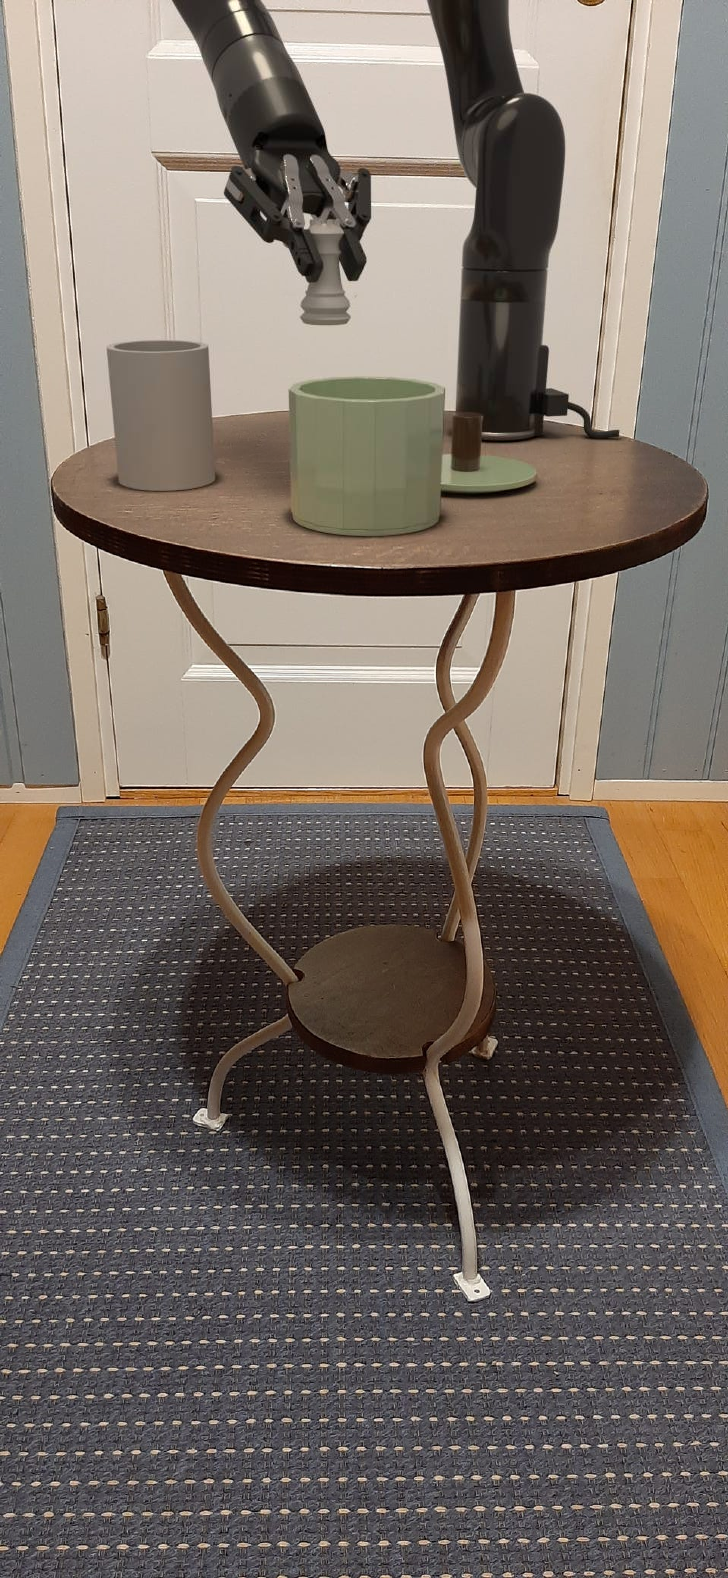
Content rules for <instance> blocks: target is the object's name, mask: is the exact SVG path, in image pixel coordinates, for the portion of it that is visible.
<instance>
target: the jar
mask: <svg viewBox="0 0 728 1578" xmlns="http://www.w3.org/2000/svg"><path fill="white" fill-rule="evenodd" d="M445 403H446V387H444V386H442V385H440V384H437V383H435V382H431V381H425V380H419V379H414V378H404V377H392V376H362V375H361V376H359V375H358V376H333V377H324V378H316V379H314V378H313V379H307V380H304V381H300V382H296V383H293V384H291V386H290V387H289V388H288V425H289V427H288V428H289V429H288V430H289V464H290V465H289V466H290V467H289V471H290V472H289V474H290V475H289V476H290V478H289V479H290V511H291V513H292V520H294V522H295V523H296V524H297V525H299V526H301V527H304V528H307V529H309V530H312V531H315V532H320V533H325V534H331V535H332V534H333V535H340V536H351V537H384V536H385V537H387V536H396V535H405V534H410V533H416V532H419V531H423V530H426V529H429V528H431V527H433V526H434V525H436V524H437V523H439V521H440V519H441V506H442V491H441V484H442V458H443V454H444V433H445V432H444V430H445V429H444V428H445V407H446V406H445Z"/></svg>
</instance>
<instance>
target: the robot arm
mask: <svg viewBox="0 0 728 1578" xmlns="http://www.w3.org/2000/svg"><path fill="white" fill-rule="evenodd" d="M171 2H172V4H173V5H174V7H175V9H176V10H177V12H178V14H179V15H180V18H181V19H182V21H183V22H184V23H185V25H186V26H187V28H188V30H189V31H190V33H191V35H192V38H193V39H194V40H195V44H196V46H197V47H198V49H199V53H200V56H201V58H202V61H203V62H202V63H203V64H204V66H205V69H206V71H207V74H208V76H209V78H210V81H211V83H212V86H213V89H214V91H215V94H216V99H217V103H218V106H219V110H220V112H221V115H222V117H223V120H224V123H225V125H226V127H227V129H228V132H229V135H230V137H231V139H232V142H233V144H234V146H235V149H236V151H237V154H238V156H239V159H240V161H241V163H242V166H243V167H241V166H240V165H233V166H231V169H230V171H229V175H228V178H227V181H226V184H225V187H224V190H223V195H224V197H225V198H226V200H227V201H228V202H229V203H230V204H231V205H232V206H233V208H234V209H235V210H236V211H237V212H238V213H239V214H240V215H241V216H242V218H243V219H244V220H245V221H246V222H247V224H248V225H249V226H250V227H251V228H252V229H253V230H254V232H255V233H256V234H257V235H258V236H259V238H261V240H262V241H263V242H265V243H267V244H272V243H274V242H275V241H278V242H281V243H282V245H283V246H284V247H285V248H287V249H288V251H289V252H290V253H289V254H290V255H291V257H292V260H293V262H294V265H295V267H296V271H297V272H298V273H299V274H300V275H301V277H304V278H305V280H306V282H307V284H309V283H313V282H317V281H318V279H319V277H320V275H321V273H322V270H323V261H322V259H321V256H320V254H319V251H318V249H317V247H316V244H315V242H314V240H313V237H312V235H311V232H310V230H309V229H308V228H305V226H306V220H305V216H304V215H305V214H308V215H310V216H311V218H312V219H316V220H317V219H323V224H326V220H328V219H334V220H340V227H341V229H342V230H343V232H344V234H343V236H342V237H341V239H340V241H339V249H340V251H341V252H342V253H341V254H340V256H339V264H340V266H341V268H342V270H343V273H344V275H345V277H346V279H347V281H348V282H358V281H359V279H360V277H361V276H362V274H363V271H364V269H365V267H366V264H367V255H366V253H365V251H364V249H363V245H362V243H361V240H362V238H363V237H364V236H363V235H364V233H365V231H366V229H367V226H368V225H369V223H370V222H371V220H372V174H371V172H370V171H369V170H368V169H367V168H365V167H360V168H358V170H357V172H356V173H352V172H350V171H348V170H344V169H341V166H340V163H339V162H338V161H337V159H335V157H333V155H332V154H331V153H330V152H329V149H328V143H327V136H326V131H325V129H324V126H323V124H322V121H321V120H320V116H319V115H318V112H317V110H316V108H315V106H314V104H313V100H312V98H311V96H310V94H309V92H308V89H307V87H306V85H305V82H304V80H303V78H302V76H301V73H300V71H299V69H298V67H297V65H296V64H295V62H294V60H293V59H292V57H291V55H290V54H289V53H288V50H287V48H286V46H285V43H284V41H283V39H282V37H281V35H280V32H279V31H278V28H277V26H276V23H275V21H274V20H273V17H272V15H271V13H270V12H269V10H268V8H267V7H266V5H265V4H264V3H263V1H262V0H171ZM426 3H427V7H428V11H429V15H430V18H431V22H432V25H433V28H434V32H435V35H436V39H437V42H438V45H439V46H438V47H439V49H440V52H441V57H442V61H443V66H444V73H445V76H446V82H447V87H448V88H447V89H448V95H449V102H450V108H451V116H452V123H453V131H454V136H455V144H456V149H457V156H458V160H459V164H460V166H461V169H462V171H463V173H464V175H465V177H466V178H467V180H468V181H469V182H470V184H471V185H472V186H473V187H474V188H475V197H474V200H475V201H474V212H473V219H472V223H471V227H470V230H469V232H468V234H467V236H466V237H465V239H464V241H463V244H462V251H461V275H460V297H459V298H460V301H459V321H458V324H459V325H458V342H457V343H458V345H457V366H456V367H457V368H456V386H455V388H456V389H455V392H456V393H455V410H454V413H458V412H475V413H480V414H482V415H483V422H482V441H498V442H499V441H518V440H526V439H531V438H533V437H541V436H543V433H544V421H545V417H550V418H551V417H565V416H568V410H569V411H572V412H574V413H577V414H578V415H579V416H580V417H581V418H582V420H583V430H584V433H585V435H586V436H588V437H589V438H592V439H593V440H594V439H595V440H605V439H611V438H619V437H620V429H612V430H605V431H604V430H603V431H596V430H594V429H592V426H591V425H592V424H591V423H592V422H591V420H592V419H591V416H590V413H589V412H588V411H587V410H586V408H584V407H582V406H580V405H579V404H576V403H574V402H572V401H571V402H570V401H569V399H570V394H569V393H566V392H564V391H560V390H558V389H555V388H552V387H550V388H547V381H548V371H549V370H548V369H549V358H550V348H549V346H548V345H546V344H543V338H544V325H545V311H546V299H547V298H546V297H547V284H548V273H549V272H548V271H549V270H548V268H549V262H550V261H549V260H550V253H551V250H552V248H553V245H554V243H555V240H556V237H557V234H558V228H559V221H560V213H561V212H560V211H561V204H562V195H563V185H564V176H565V165H566V135H565V129H564V124H563V120H562V119H561V116H560V115H559V113H558V111H557V109H556V108H555V106H554V105H553V104H552V103H551V102H550V101H549V100H548V99H546V98H545V97H542V96H541V95H537V94H535V93H530V92H525V91H524V87H523V83H522V80H521V77H520V73H519V68H518V65H517V61H516V57H515V54H514V49H513V43H512V42H513V41H512V37H511V29H510V15H509V13H510V10H509V9H510V0H426ZM346 203H347V205H346ZM263 216H264V217H263ZM264 218H265V219H264Z"/></svg>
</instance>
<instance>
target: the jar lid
mask: <svg viewBox="0 0 728 1578" xmlns="http://www.w3.org/2000/svg"><path fill="white" fill-rule="evenodd" d="M482 422H483V415H482V414H480V413H475V412H458V413H455V412H454V413H453V414H452V423H451V424H452V425H451V426H452V427H451V448H450V453H445V454H444V453H443V458H442V484H441V493H450V494H489V493H496V492H501V491H508V490H514V489H518V488H523V487H525V486H529V485H531V484H533V483H534V482H535V481H536V480H537V476H538V475H537V474H538V471H537V469H536V468H535V466H533V465H531V464H529V463H527V462H524V461H521V460H518V459H514V458H513V459H512V458H509V457H502V456H495V455H487V454H482V442H483V440H482Z"/></svg>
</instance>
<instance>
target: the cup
mask: <svg viewBox="0 0 728 1578" xmlns="http://www.w3.org/2000/svg"><path fill="white" fill-rule="evenodd" d="M209 351H210V349H209V344H207V343H205V342H200V341H193V340H180V339H143V340H129V341H121V342H115V343H110V344H108V345H107V346H106V356H107V368H108V378H109V379H108V380H109V389H110V391H109V392H110V400H111V411H112V421H113V422H112V423H113V433H114V443H115V444H114V445H115V455H116V466H117V477H118V484H120V485H121V486H123V487H125V488H129V489H134V490H140V491H141V490H142V491H152V492H153V491H154V492H155V491H156V492H167V491H169V492H171V491H185V490H190V489H196V488H197V489H198V488H201V487H206V486H208V485H210V484H213V483H214V482H215V480H216V465H215V463H216V462H215V445H214V428H213V427H214V426H213V409H212V407H213V406H212V389H211V388H212V387H211V371H210V370H211V369H210V352H209Z"/></svg>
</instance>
